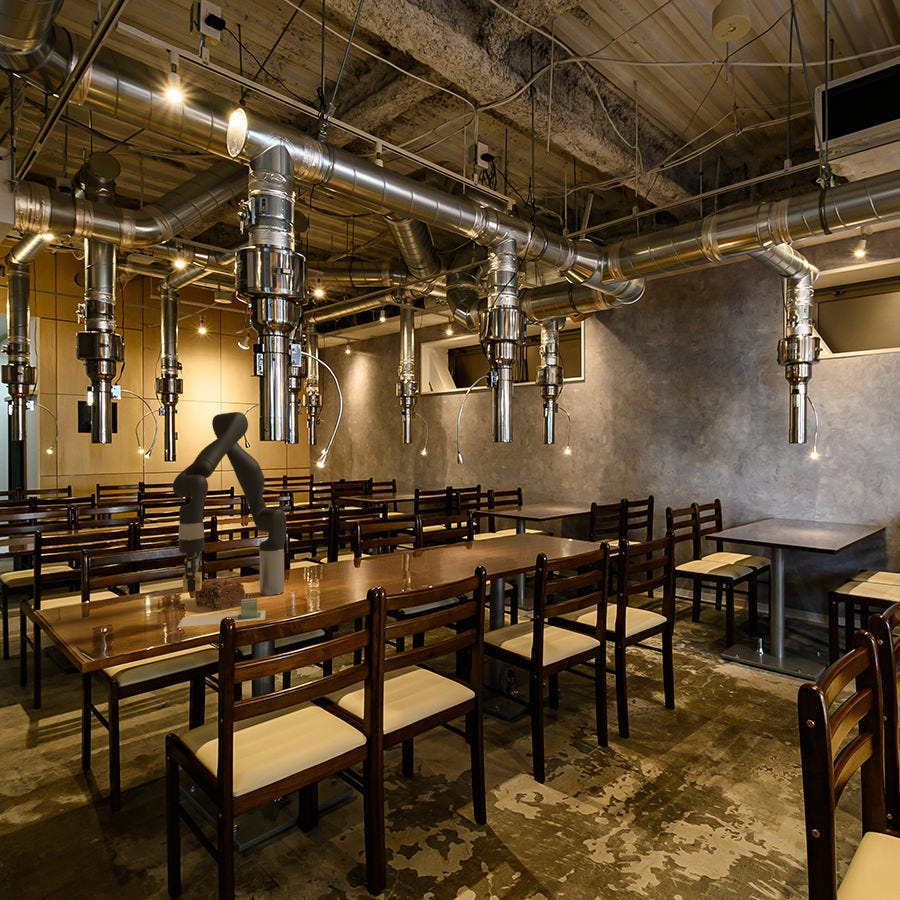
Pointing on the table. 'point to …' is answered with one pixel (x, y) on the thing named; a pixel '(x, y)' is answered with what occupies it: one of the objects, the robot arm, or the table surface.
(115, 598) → the table surface
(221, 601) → the bread
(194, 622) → the blueprint board
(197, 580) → the ochre block
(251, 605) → the green block
